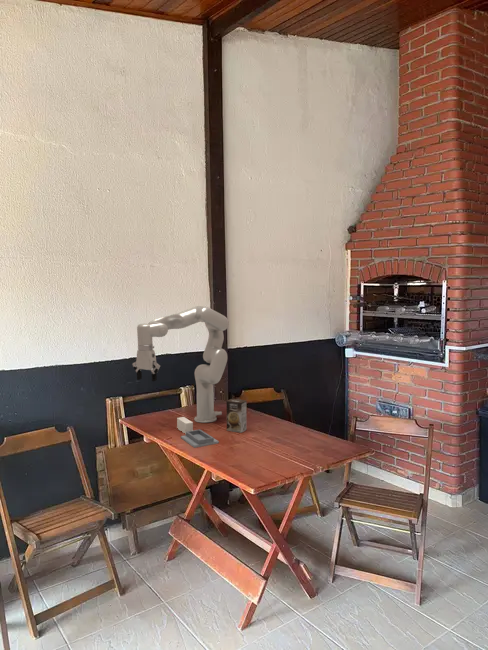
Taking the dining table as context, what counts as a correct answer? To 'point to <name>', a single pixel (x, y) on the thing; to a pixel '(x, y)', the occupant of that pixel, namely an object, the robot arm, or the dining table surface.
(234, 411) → the coffee box
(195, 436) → the cradle
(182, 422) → the long beige rectangular prism
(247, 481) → the dining table surface
